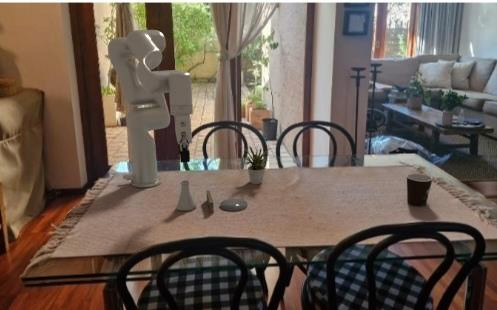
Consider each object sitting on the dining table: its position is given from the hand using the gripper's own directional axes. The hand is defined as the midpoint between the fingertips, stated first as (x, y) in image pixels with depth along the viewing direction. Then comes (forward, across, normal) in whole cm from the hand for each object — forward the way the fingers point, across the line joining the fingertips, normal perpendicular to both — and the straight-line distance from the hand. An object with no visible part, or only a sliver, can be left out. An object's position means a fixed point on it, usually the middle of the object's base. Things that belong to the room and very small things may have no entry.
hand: (184, 158), depth 148 cm
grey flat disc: (+19, -2, -17) cm, 25 cm away
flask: (+19, 0, 0) cm, 19 cm away
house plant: (+19, +21, -29) cm, 40 cm away
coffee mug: (+19, -15, -84) cm, 87 cm away
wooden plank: (+19, -1, -8) cm, 20 cm away
